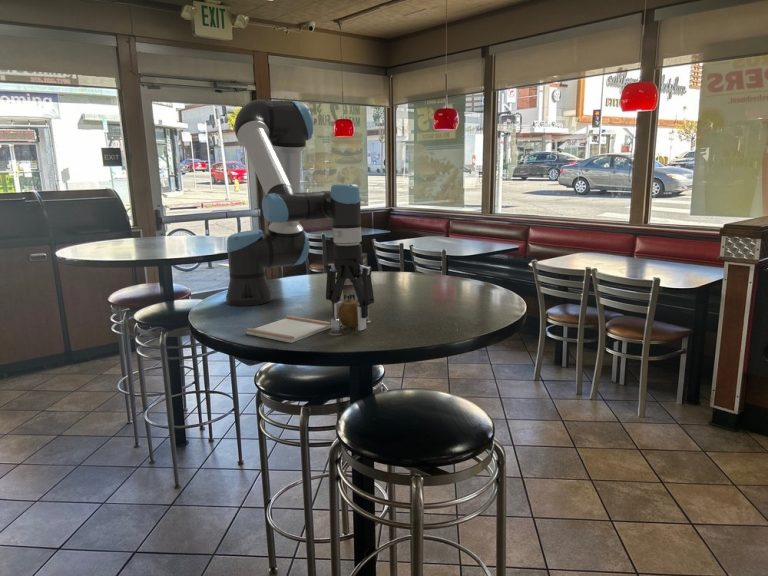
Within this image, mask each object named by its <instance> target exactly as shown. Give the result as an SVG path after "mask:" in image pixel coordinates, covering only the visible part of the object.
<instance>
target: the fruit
mask: <svg viewBox="0 0 768 576" xmlns="http://www.w3.org/2000/svg"><path fill="white" fill-rule="evenodd" d="M358 306H359V304H358V303H357V302H355V301H352V300H350V299H349V300H347V301H345V302H343V301H342V304H341V306H340V308H339V319H340V321H341V323H342V325H341V326H344V327H345V328H347V329H353V328H355V327H358V310H357V307H358Z"/></svg>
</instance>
